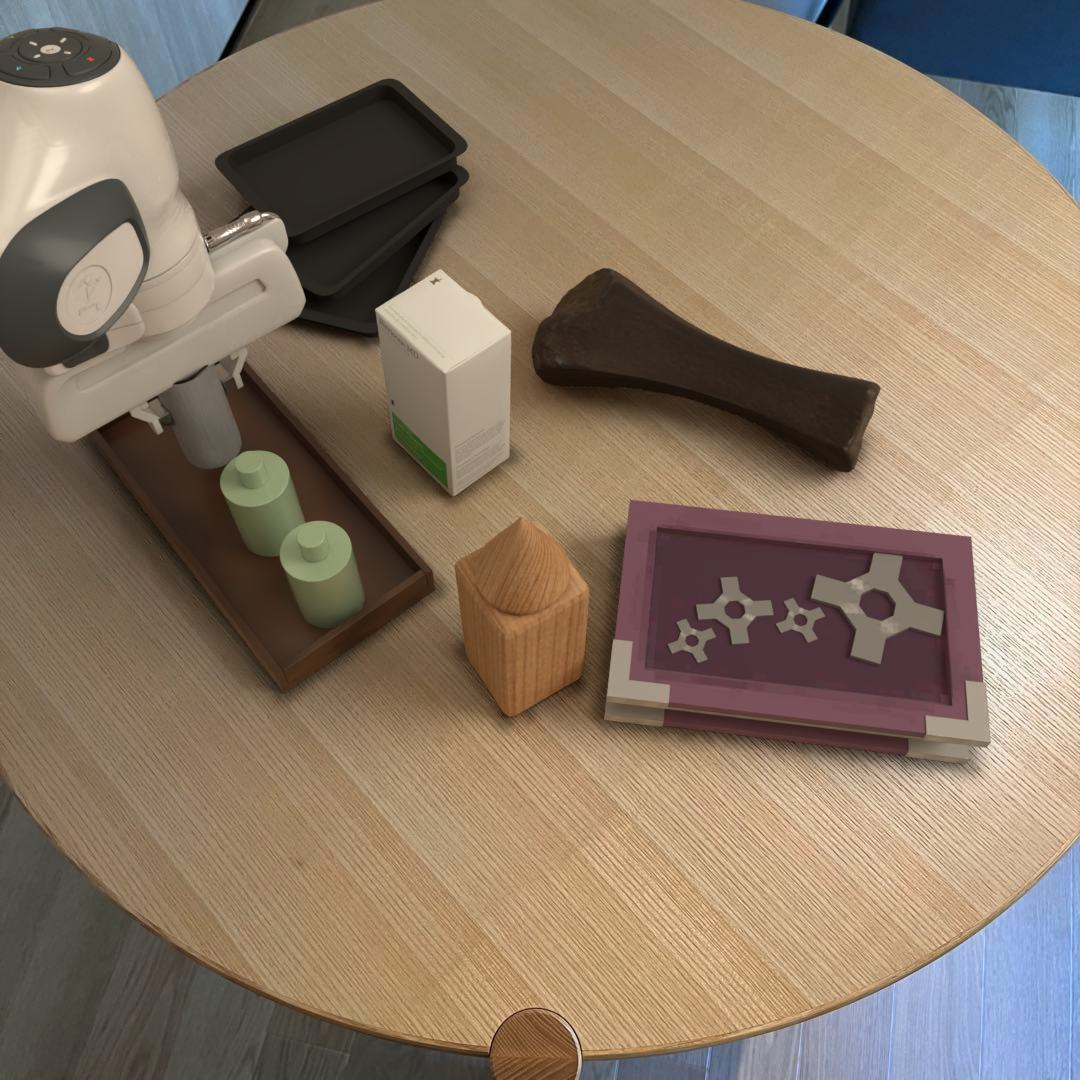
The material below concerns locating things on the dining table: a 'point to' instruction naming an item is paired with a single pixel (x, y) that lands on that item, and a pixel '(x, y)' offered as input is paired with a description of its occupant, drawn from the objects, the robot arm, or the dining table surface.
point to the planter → (203, 419)
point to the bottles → (293, 538)
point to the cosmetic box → (447, 380)
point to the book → (799, 632)
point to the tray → (353, 197)
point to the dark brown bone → (697, 368)
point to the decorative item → (523, 615)
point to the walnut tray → (247, 578)
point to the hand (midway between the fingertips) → (195, 405)
